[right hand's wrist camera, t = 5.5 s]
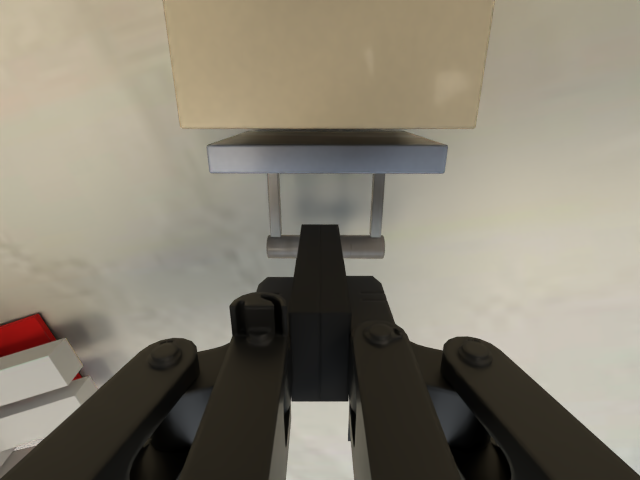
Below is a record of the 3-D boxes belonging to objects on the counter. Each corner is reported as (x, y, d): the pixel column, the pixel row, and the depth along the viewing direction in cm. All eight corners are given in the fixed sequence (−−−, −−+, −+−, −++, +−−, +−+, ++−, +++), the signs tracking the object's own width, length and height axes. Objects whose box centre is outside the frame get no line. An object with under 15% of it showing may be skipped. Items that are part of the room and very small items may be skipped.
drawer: (396, 233, 25) (429, 293, 17) (254, 233, 25) (222, 292, 17) (438, -275, 16) (550, -644, 8) (218, -272, 16) (116, -636, 8)
